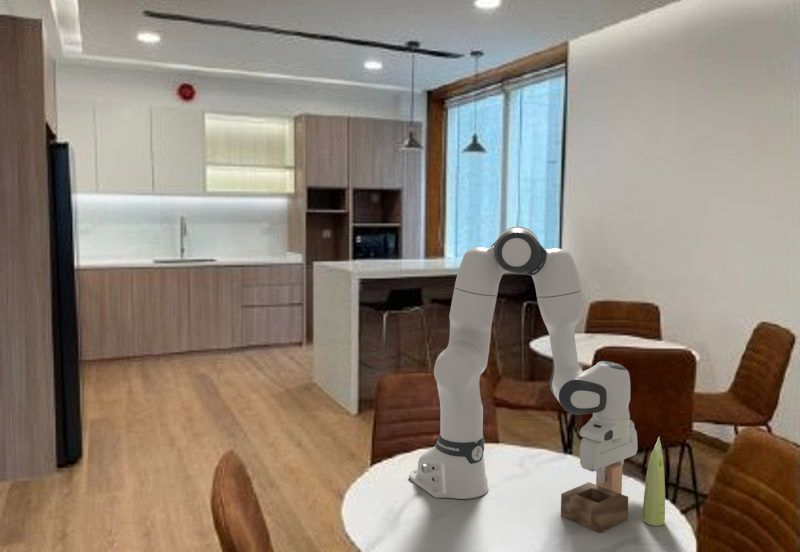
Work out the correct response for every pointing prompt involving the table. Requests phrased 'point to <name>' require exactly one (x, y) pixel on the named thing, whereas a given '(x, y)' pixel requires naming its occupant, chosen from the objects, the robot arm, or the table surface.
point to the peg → (612, 478)
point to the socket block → (594, 507)
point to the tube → (655, 489)
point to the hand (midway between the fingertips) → (609, 479)
